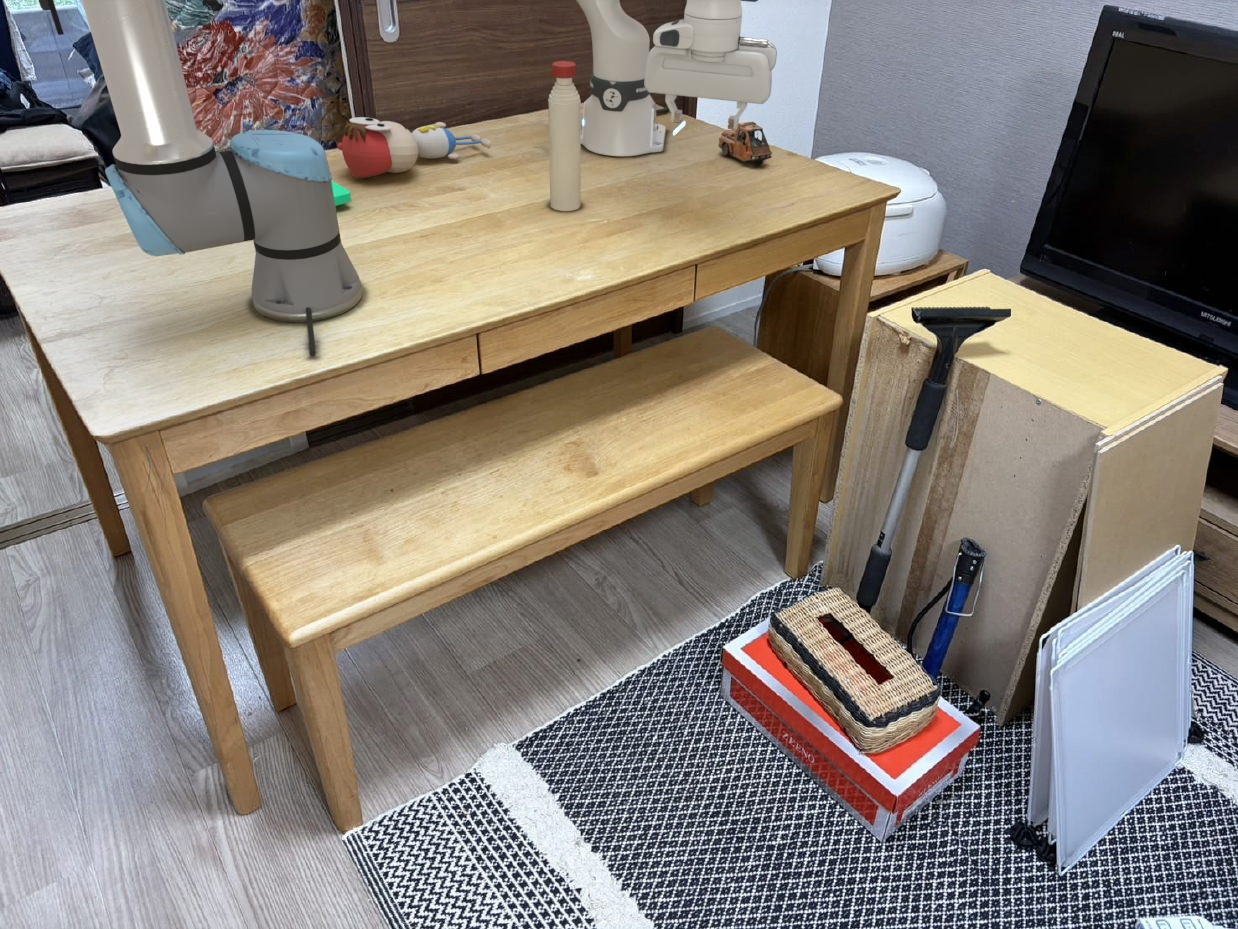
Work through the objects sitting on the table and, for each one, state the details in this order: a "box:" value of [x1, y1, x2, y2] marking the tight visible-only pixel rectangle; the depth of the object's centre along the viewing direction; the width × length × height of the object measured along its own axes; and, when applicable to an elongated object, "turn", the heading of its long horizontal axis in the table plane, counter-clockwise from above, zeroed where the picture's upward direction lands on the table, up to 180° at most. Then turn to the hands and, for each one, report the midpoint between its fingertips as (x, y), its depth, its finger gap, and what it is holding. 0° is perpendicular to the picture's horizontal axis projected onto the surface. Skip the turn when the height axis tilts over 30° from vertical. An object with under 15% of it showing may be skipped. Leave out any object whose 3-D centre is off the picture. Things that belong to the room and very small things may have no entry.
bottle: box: [547, 77, 582, 212], centre depth 159 cm, size 5×5×24 cm
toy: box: [336, 116, 492, 179], centre depth 179 cm, size 18×10×30 cm
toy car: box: [717, 121, 773, 167], centre depth 186 cm, size 6×12×7 cm, turn 39°
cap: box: [551, 60, 577, 79], centre depth 152 cm, size 4×4×2 cm
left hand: (108, 29), depth 146 cm, fingers open, 13 cm apart
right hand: (704, 125), depth 151 cm, fingers open, 8 cm apart
